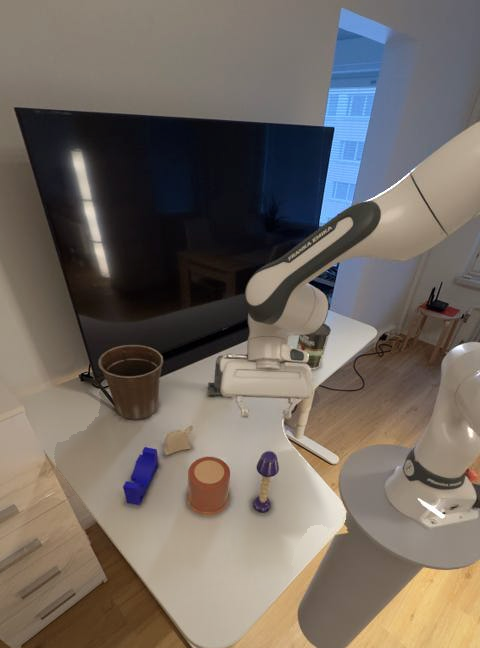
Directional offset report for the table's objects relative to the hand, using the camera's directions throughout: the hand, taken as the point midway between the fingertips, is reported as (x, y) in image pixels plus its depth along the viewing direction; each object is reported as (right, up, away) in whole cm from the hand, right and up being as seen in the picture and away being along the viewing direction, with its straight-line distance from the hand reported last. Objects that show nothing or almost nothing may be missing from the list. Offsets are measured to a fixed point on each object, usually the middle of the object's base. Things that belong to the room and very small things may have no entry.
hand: (265, 418), depth 75 cm
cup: (-13, -18, +5) cm, 23 cm away
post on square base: (-12, +9, +35) cm, 39 cm away
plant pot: (-36, +4, +26) cm, 44 cm away
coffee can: (+20, +22, +53) cm, 61 cm away
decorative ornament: (-22, -7, +16) cm, 28 cm away
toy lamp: (-1, -20, +5) cm, 21 cm away
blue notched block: (-29, -15, +6) cm, 33 cm away
